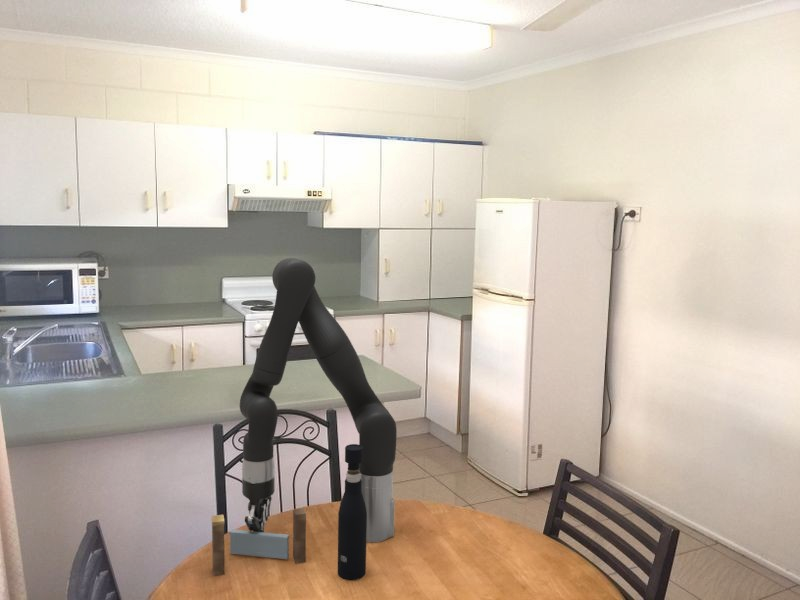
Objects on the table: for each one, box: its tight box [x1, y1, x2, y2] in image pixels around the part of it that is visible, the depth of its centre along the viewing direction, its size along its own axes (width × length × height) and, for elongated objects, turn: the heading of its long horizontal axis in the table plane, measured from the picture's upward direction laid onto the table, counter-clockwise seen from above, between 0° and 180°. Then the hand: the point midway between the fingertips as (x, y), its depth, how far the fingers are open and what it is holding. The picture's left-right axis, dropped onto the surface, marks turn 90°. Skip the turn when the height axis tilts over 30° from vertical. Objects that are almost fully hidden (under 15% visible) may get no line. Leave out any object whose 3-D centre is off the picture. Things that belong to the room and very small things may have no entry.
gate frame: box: [210, 507, 307, 577], centre depth 155 cm, size 21×3×13 cm, turn 109°
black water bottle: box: [337, 443, 367, 581], centre depth 152 cm, size 6×6×30 cm
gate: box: [229, 528, 290, 560], centre depth 159 cm, size 14×1×6 cm, turn 82°
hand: (258, 542), depth 163 cm, fingers closed
